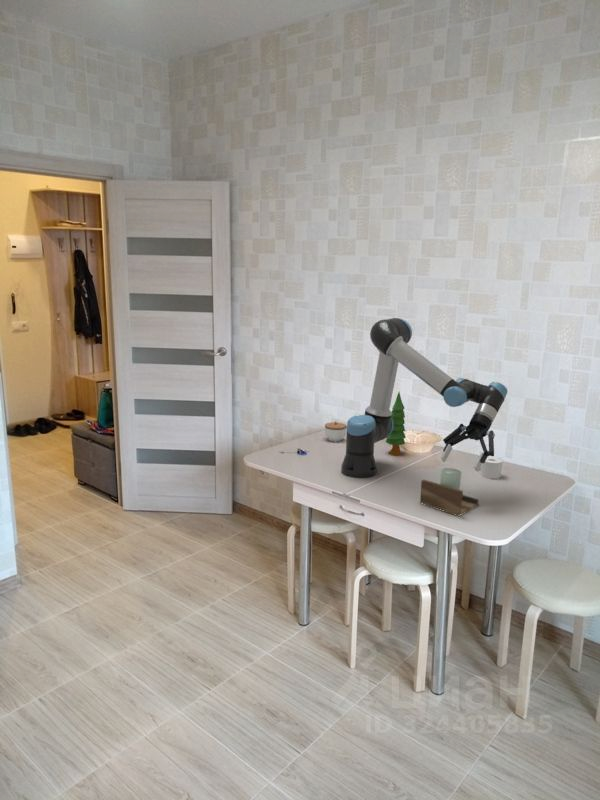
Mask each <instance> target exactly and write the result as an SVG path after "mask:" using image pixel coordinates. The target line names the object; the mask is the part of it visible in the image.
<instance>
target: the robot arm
mask: <svg viewBox="0 0 600 800" xmlns="http://www.w3.org/2000/svg"><path fill="white" fill-rule="evenodd" d="M369 333H370V334H369V336H370V337H369V338H370V341H371V343H372V344H373V346H375V348H376V349H377V350H378V352H379V354H378V361H377V365H376V369H375V375H374V382H373V385H372V386H373V387H372V393H371V397H370V402H369V403H370V404H369V406H367V407H366V408H365V411H364V414H359V415H354V416H351V417H349V418H348V420H347V423H346V435H345V436H346V438H345V439H346V440H345V445H346V447H345V455H344V458H343V461H342V462H341V468H340V469H341V470H340V471H341V473H342V474H344V475H345V476H349V477H354V478H371V477H373V476H376V475H377V473H378V466H377V462H376V460H375V456H374V452H375V451H374V450H375V443H377V442H380V441H382V440H386V439H387V438H386V437H388V436H389V435H390V434H391V432H392V430H393V420H392V418H391V417H392V410H390V407H391V403H392V399H393V393H394V388H395V383H396V377H397V373H398V367H399V364H401V365H402V366H403V367H404V368H406V369H407V370H408V371H410V372H411V373H412V374H414V375H415V376H416V377H417V378H419V379H420V380H421V381H423V382H424V383H425V384H426V385H428V386H429V387H430V388H431V389H433V390H434V391H435V392H437V393H438V394H439V395H441V397H443V401H444V402H445V404H446V405H447V406H449V407H452V408H457V407H460V406H462V405H464V404H466V403H468V402H473V403H476V404H478V406H477V408H476V409H475V411H474V414H473V415H472V417H471V419H470V420H469V424H468V425H467V426H466V425H464V424H463V423H460V424H459V426H458V427H457V428H455V430H453V431H452V432H451V433H449V434H448V435H447V436H446V437H445V438H443V440H442V441H443V443H444V444H445V446H444V448H443V449H442V450H443V451H442V452H443V453H442V455H441V457H440V459H441V460H442V462H443V463H445V462H446V461H447V459H448V458H449V455H450V453H451V452H452V450H453V446H456V445H457V444H459V443H461V442H463V441H465V440H468V439H469V440H475V441H479V442H480V446H481V448H482V451H483V452H480V454H479V456H478V457H479V458H478V457H477V459H476V462H475V464H474V465H473V469H474V470H475V472H479V471H480V470H479V468H480V466H481V464H482V463H485V461H486V459H487V457H494V456H495V445H494V444H495V443H494V439H495V435H496V434H495V432H494V430H490V429H491V426H492V424H493V423H494V420H495V418H496V417H497V414H498V413H499V411H500V409H501V407H502V405H503V403H504V401H505V399H506V397H507V395H508V392H509V391H508V388H507V387H506V385H504V384H503V383H501V382H498V381H496V382H495V381H492V382H490V383H489V384H488V385H485V384H482V383H478V382H476V381H473V380H470V379H469V378H463V377H458V378H456V380H455V379H453V378H452V377H451V376H450V375H449V374H447V373H446V372H444V371H443V370H442V369H441V368H439V367H438V366H437V365H435V364H434V363H433V362H432V361H430V360H429V359H428V358H426V357H425V356H424V355H422V354H421V352H418V351H417V350H415V349H414V348H413V347H412V346H410V345H409V344H408V343H409V342H410V341H411V339H412V336H413V330H412V327H411V325H410V323H409V322H408V321H407V320H405V319H403V318H400V317H399V318H398V317H392V318H388V319H381V320H378V321H376V322H375V323H374V324H373V326H372V327H371V329H370V332H369ZM489 430H490V431H489ZM486 436H487V438H488V439H487V440H488V449H487V445H486V443H485V440H484V437H486Z"/></svg>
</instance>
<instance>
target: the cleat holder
mask: <svg viewBox="0 0 600 800" xmlns="http://www.w3.org/2000/svg"><path fill="white" fill-rule="evenodd" d="M463 492H464V491H463V490H461V489H460V490H458V489H455V488H451V487H448V486H444V485H441V484H440V483H437V482H433V481H431V480H429V479H421V486H420V500H419V504H420V503H423V504H426V505H429V506H432V507H435V508H438V509H441V510H444V511H447V512H446V513H448V512H450V513H449V514H451V513H453V514H452V515H454V514H456V515H455V516H457V515H460V514H462V513H464V512H466V511H467V512H469V511H471V510H473V509H475V508H477V507H478V506H479V504H480V503H479V499H478V498H475V497H472V496H469V495H465V494H463ZM423 504H422V505H423ZM426 505H425V506H426ZM429 506H428V507H429ZM476 506H477V507H476ZM432 507H431V508H432ZM474 507H475V508H474ZM435 508H434V509H435ZM472 508H473V509H472ZM438 509H437V510H438ZM470 509H471V510H470ZM441 510H440V511H441ZM468 510H469V511H468ZM444 511H443V512H444ZM467 512H466V513H467ZM464 514H465V513H464ZM462 515H463V514H462ZM460 516H461V515H460Z"/></svg>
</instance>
